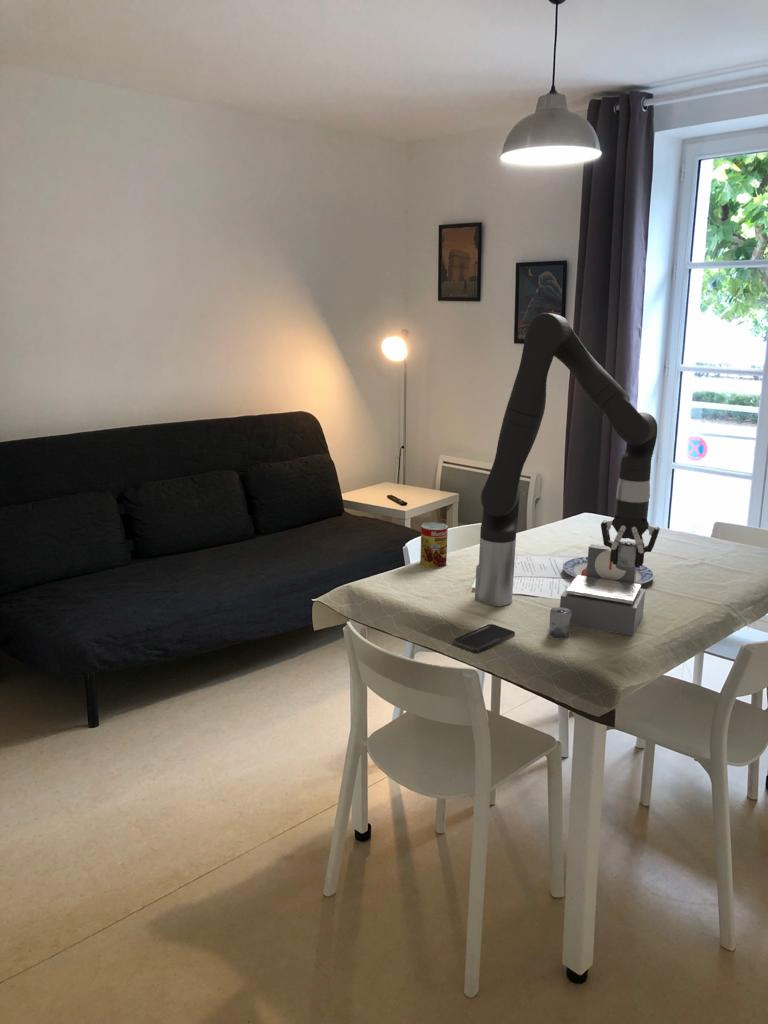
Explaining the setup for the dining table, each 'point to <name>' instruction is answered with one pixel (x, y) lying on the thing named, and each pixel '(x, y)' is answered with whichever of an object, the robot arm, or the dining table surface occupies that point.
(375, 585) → the dining table surface
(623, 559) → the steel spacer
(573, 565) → the ceramic plate
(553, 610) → the cylinder
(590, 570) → the scale
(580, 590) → the scale pan
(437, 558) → the canned food
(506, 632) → the phone
